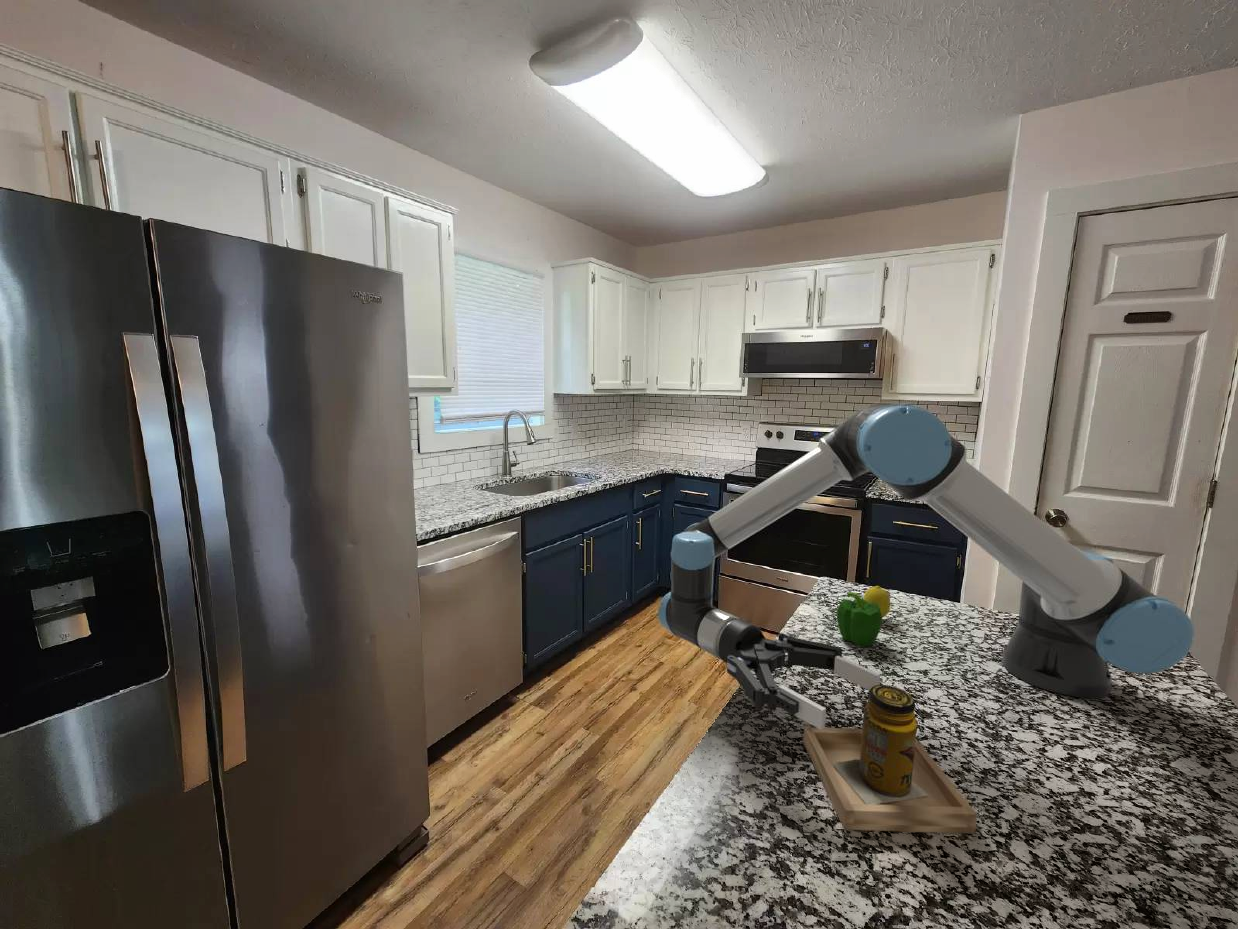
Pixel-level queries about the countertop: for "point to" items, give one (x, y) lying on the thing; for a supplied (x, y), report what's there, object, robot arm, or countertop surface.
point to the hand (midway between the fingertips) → (852, 701)
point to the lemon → (878, 599)
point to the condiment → (885, 749)
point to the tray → (920, 814)
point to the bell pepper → (859, 620)
